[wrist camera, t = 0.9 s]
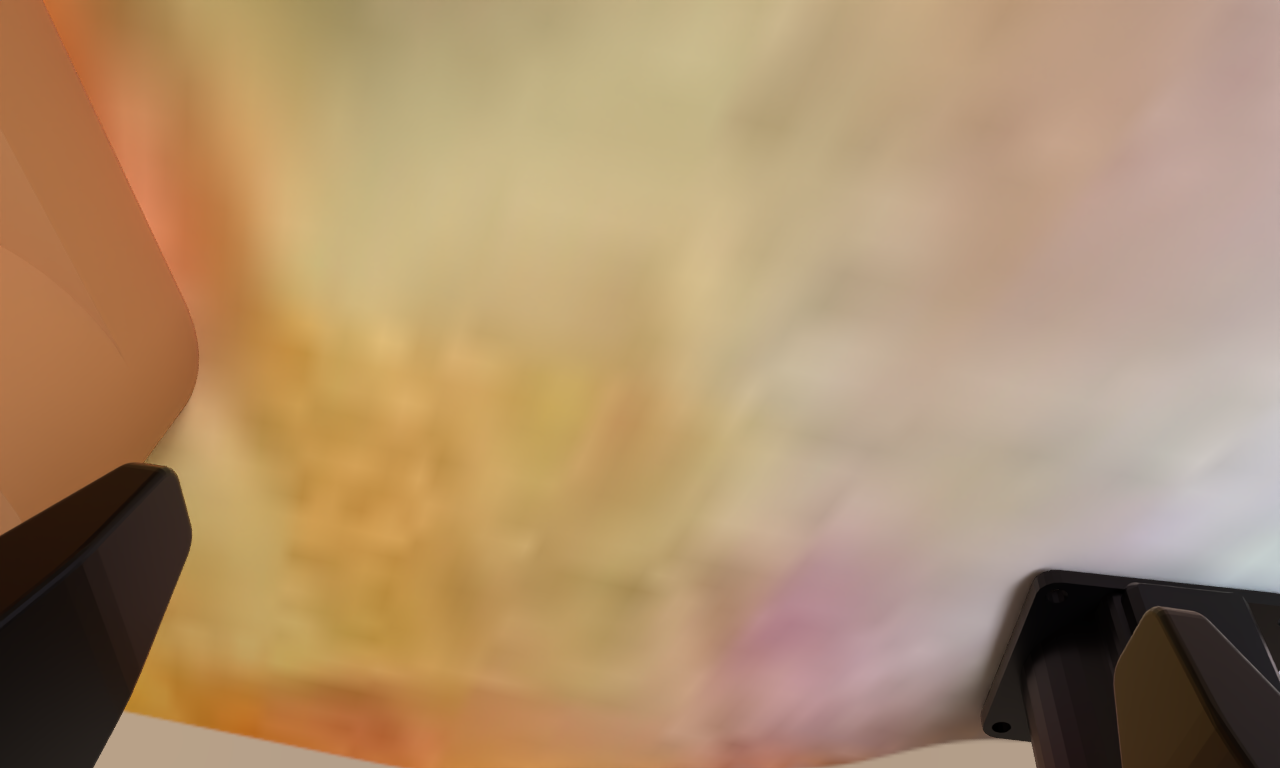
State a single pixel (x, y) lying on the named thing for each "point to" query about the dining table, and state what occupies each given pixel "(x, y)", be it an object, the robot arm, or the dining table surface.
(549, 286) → the dining table surface
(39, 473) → the brown hollow cylinder
